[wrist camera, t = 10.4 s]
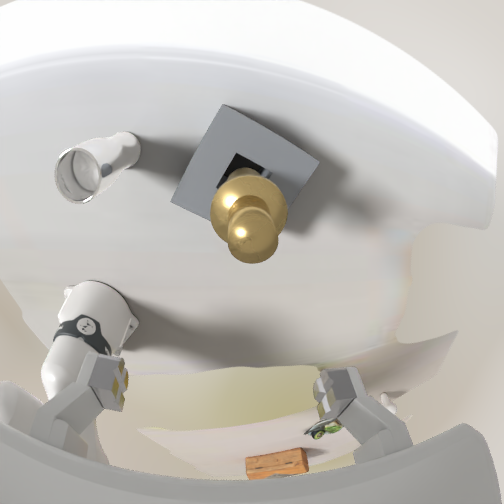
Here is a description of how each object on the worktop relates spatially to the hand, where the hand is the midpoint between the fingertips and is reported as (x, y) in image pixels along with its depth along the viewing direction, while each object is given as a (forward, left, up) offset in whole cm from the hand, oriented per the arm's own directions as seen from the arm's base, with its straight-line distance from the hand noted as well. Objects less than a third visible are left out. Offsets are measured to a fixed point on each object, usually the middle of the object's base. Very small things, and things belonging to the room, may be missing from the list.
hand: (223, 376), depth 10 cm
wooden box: (-113, -87, -36) cm, 147 cm away
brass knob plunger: (+1, -2, -25) cm, 25 cm away
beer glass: (-5, +16, -35) cm, 39 cm away
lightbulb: (-41, -86, -35) cm, 101 cm away
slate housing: (+1, -2, -35) cm, 35 cm away
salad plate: (-69, -82, -36) cm, 113 cm away
